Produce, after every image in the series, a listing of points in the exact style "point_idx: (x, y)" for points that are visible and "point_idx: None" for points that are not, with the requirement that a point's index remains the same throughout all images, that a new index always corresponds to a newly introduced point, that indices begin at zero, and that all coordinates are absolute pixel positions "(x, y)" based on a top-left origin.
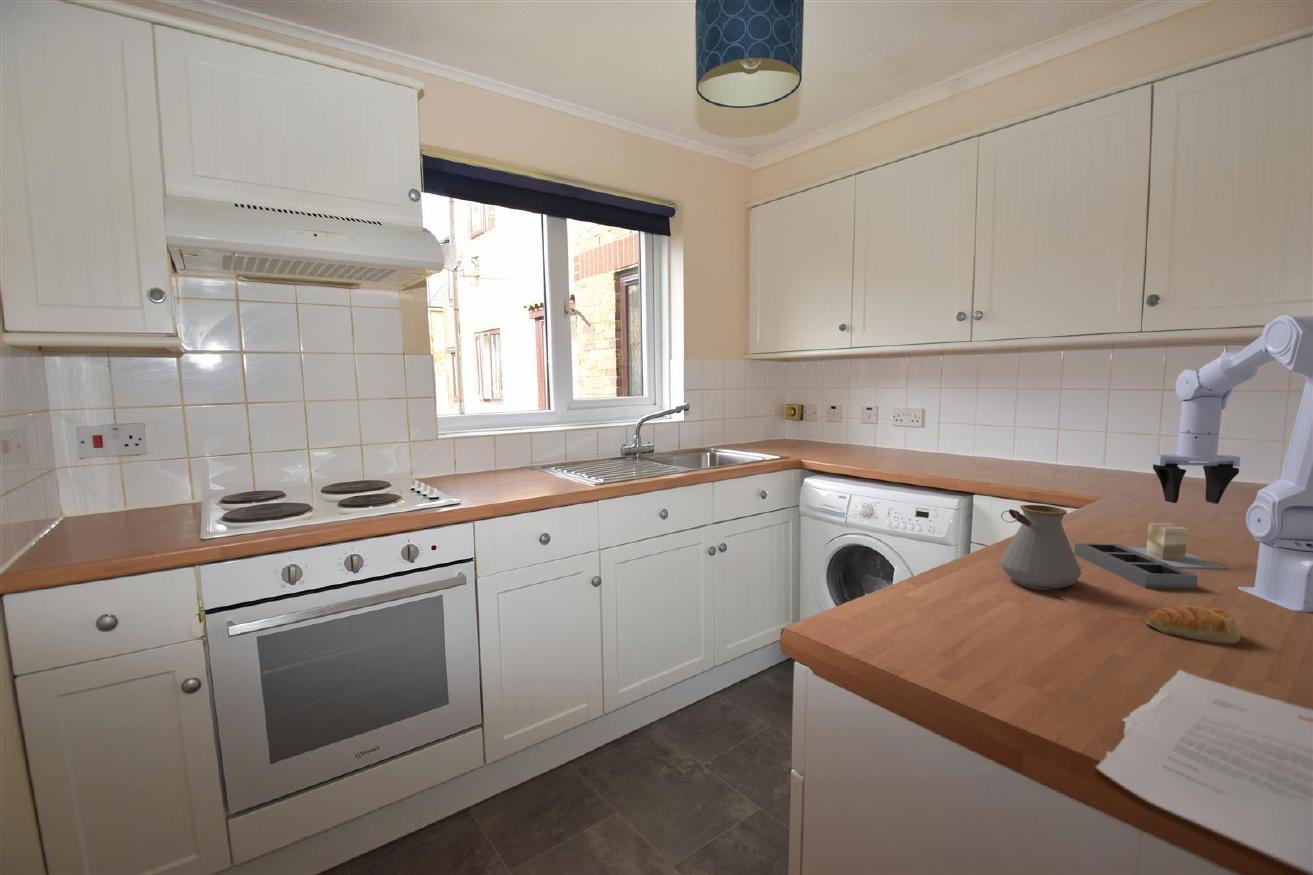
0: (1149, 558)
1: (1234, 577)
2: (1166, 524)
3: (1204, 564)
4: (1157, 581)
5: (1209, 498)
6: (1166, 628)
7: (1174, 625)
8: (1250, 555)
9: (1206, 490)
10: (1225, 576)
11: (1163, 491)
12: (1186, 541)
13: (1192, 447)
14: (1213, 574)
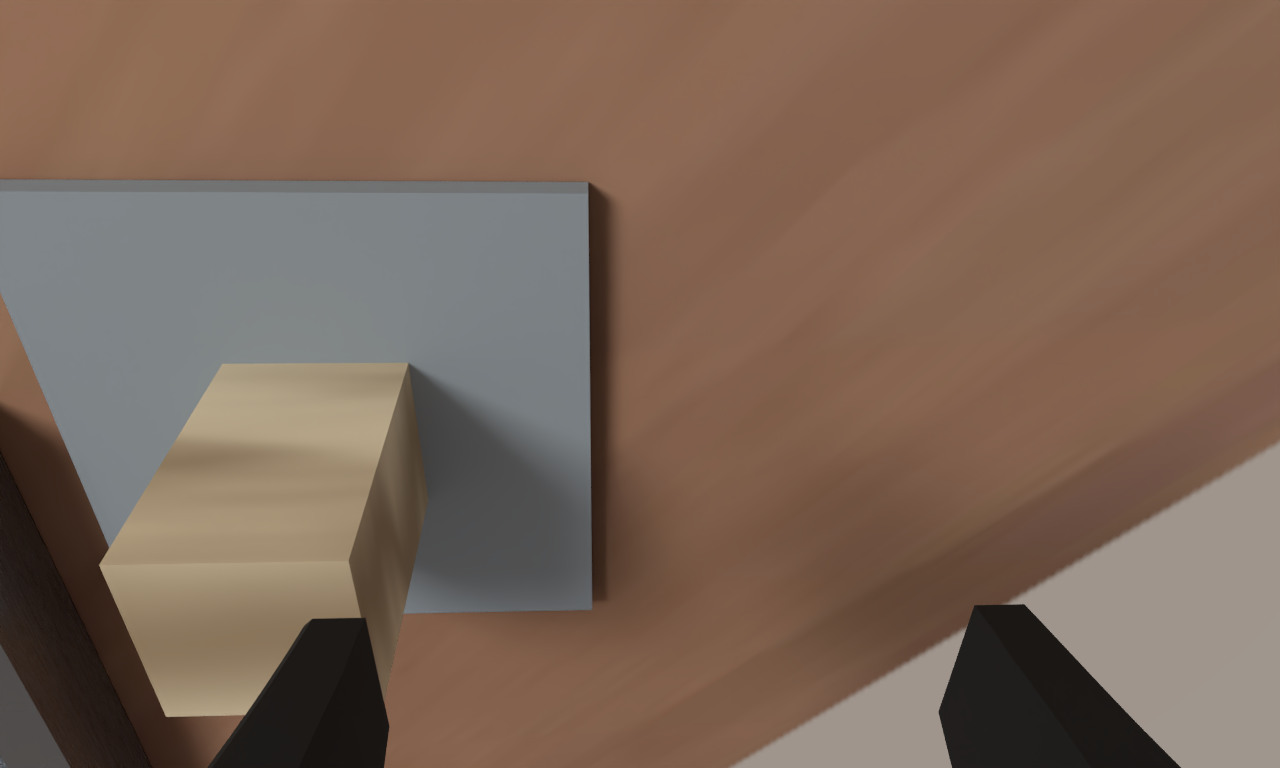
0: (17, 731)
1: (539, 672)
2: (267, 602)
3: (495, 569)
4: None
5: (986, 691)
6: None
7: None
8: (1171, 266)
9: (1063, 759)
10: (501, 664)
11: (225, 748)
12: (403, 610)
13: None
14: (457, 643)
